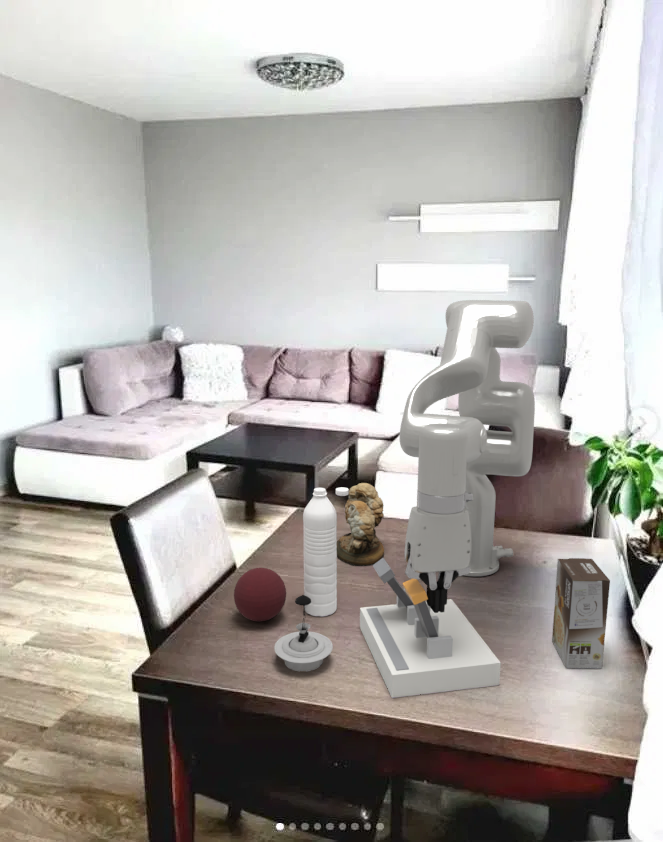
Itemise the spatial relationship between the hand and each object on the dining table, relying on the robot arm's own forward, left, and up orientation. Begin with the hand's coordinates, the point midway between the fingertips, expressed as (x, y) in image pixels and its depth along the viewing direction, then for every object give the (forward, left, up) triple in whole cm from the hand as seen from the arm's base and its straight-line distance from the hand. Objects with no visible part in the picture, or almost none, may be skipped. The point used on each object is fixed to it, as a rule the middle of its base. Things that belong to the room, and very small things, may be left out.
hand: (436, 608), depth 110 cm
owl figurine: (+1, -51, -12) cm, 52 cm away
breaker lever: (0, -1, -6) cm, 6 cm away
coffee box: (-26, 0, -12) cm, 28 cm away
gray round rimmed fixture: (+21, -7, -12) cm, 25 cm away
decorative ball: (+27, -23, -12) cm, 37 cm away
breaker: (0, -12, -6) cm, 14 cm away
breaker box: (0, -5, -11) cm, 12 cm away
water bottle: (+14, -24, -12) cm, 30 cm away
